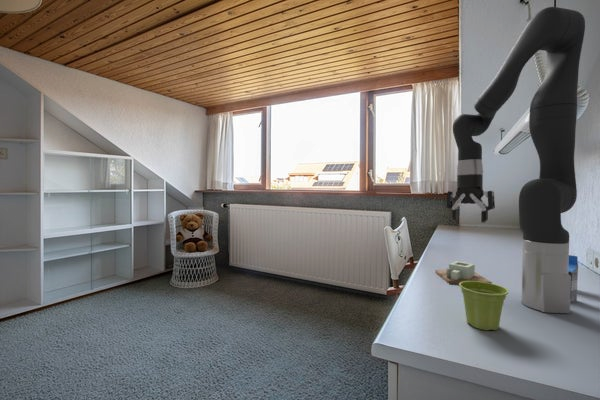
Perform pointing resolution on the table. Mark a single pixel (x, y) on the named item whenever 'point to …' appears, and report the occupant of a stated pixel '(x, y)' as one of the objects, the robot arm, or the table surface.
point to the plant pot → (483, 303)
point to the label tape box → (573, 276)
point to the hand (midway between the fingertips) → (469, 221)
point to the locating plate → (447, 277)
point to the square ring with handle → (462, 270)
